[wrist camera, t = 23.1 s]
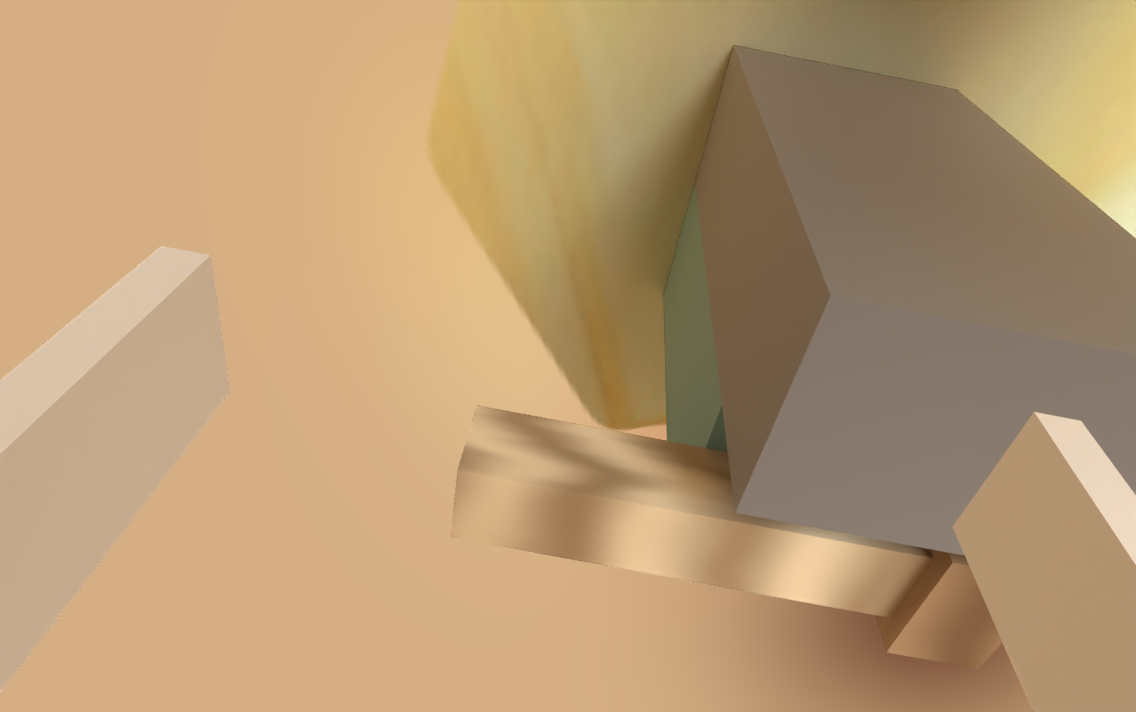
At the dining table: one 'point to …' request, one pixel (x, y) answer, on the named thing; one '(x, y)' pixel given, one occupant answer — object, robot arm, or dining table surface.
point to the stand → (886, 301)
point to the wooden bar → (701, 531)
